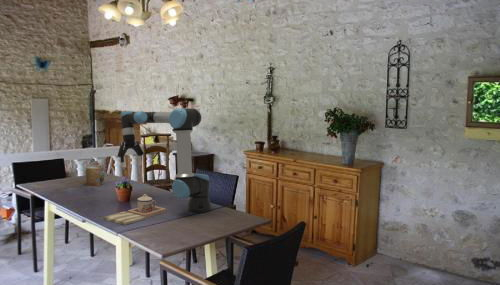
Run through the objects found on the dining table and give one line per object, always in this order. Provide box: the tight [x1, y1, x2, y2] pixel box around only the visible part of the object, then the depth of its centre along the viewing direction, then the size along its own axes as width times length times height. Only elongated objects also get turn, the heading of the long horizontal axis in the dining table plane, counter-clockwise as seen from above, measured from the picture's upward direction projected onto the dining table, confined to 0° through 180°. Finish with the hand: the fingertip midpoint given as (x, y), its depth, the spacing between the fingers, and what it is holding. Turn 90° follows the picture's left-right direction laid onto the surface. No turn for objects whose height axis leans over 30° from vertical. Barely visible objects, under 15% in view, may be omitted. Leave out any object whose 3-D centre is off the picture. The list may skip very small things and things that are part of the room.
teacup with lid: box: [137, 193, 157, 214], centre depth 256 cm, size 12×9×12 cm
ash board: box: [103, 211, 146, 226], centre depth 242 cm, size 18×15×2 cm
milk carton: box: [85, 159, 105, 187], centre depth 332 cm, size 11×11×19 cm
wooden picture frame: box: [126, 205, 167, 219], centre depth 257 cm, size 15×18×2 cm
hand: (132, 166), depth 277 cm, fingers open, 13 cm apart
